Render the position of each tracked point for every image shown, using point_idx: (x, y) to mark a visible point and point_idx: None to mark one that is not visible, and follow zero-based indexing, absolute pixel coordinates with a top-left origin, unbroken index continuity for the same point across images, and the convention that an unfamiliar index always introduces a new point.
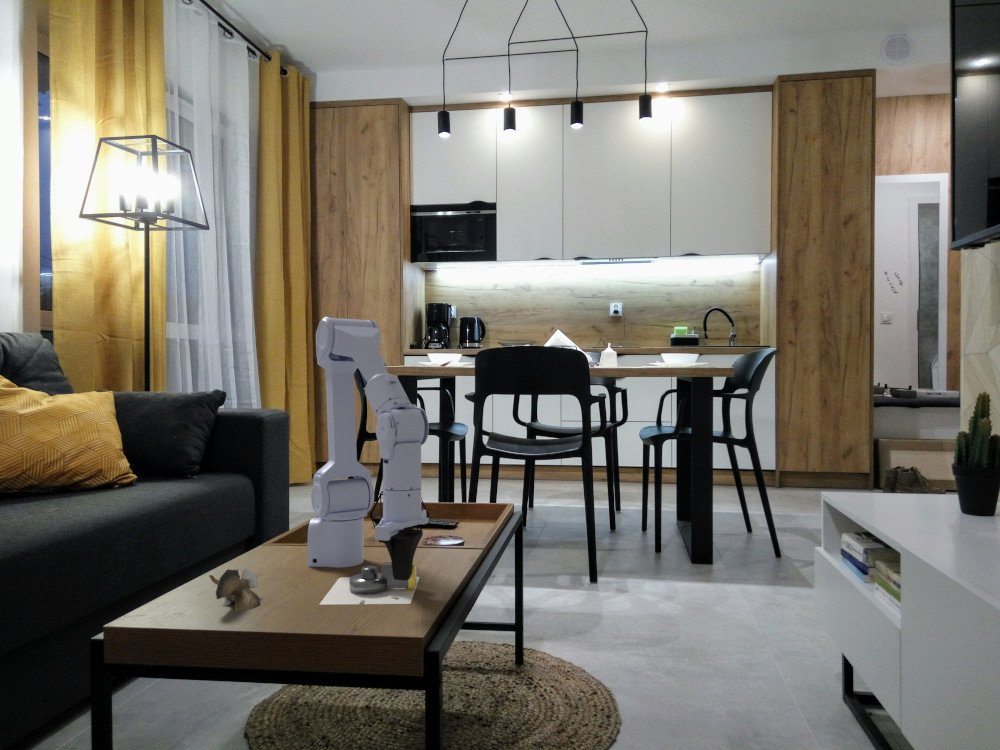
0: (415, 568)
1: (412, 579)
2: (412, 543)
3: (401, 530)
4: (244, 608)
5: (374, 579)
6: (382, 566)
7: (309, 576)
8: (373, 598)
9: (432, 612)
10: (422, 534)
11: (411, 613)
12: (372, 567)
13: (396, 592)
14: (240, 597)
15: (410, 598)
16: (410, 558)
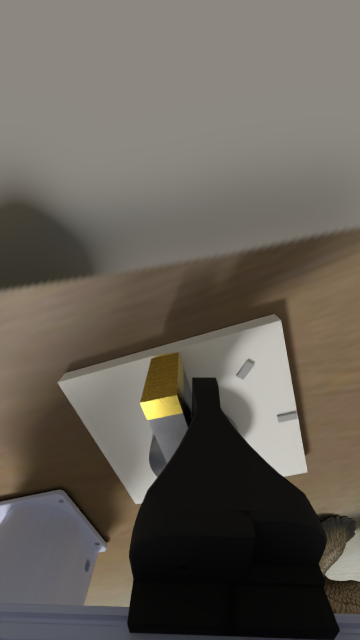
0: (164, 387)
1: (179, 371)
2: (283, 478)
3: (323, 633)
4: (343, 541)
5: None
6: None
7: (118, 535)
8: (254, 407)
9: (278, 256)
10: (156, 501)
11: (292, 304)
12: None
13: None
14: (331, 565)
15: (238, 336)
16: (227, 420)
